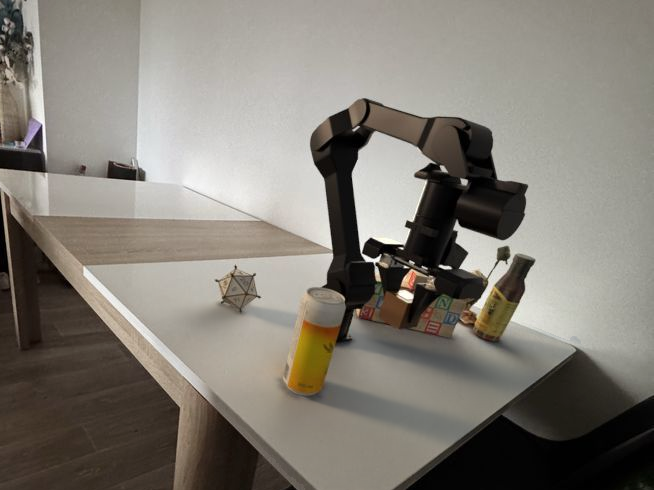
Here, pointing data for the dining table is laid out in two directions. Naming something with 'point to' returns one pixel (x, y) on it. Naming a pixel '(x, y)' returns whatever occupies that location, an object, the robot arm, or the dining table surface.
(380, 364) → the dining table surface
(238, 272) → the game die
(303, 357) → the beer can
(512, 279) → the sauce bottle
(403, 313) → the wooden cube
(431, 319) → the stack of blocks
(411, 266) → the robot arm
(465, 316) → the plant with pod
